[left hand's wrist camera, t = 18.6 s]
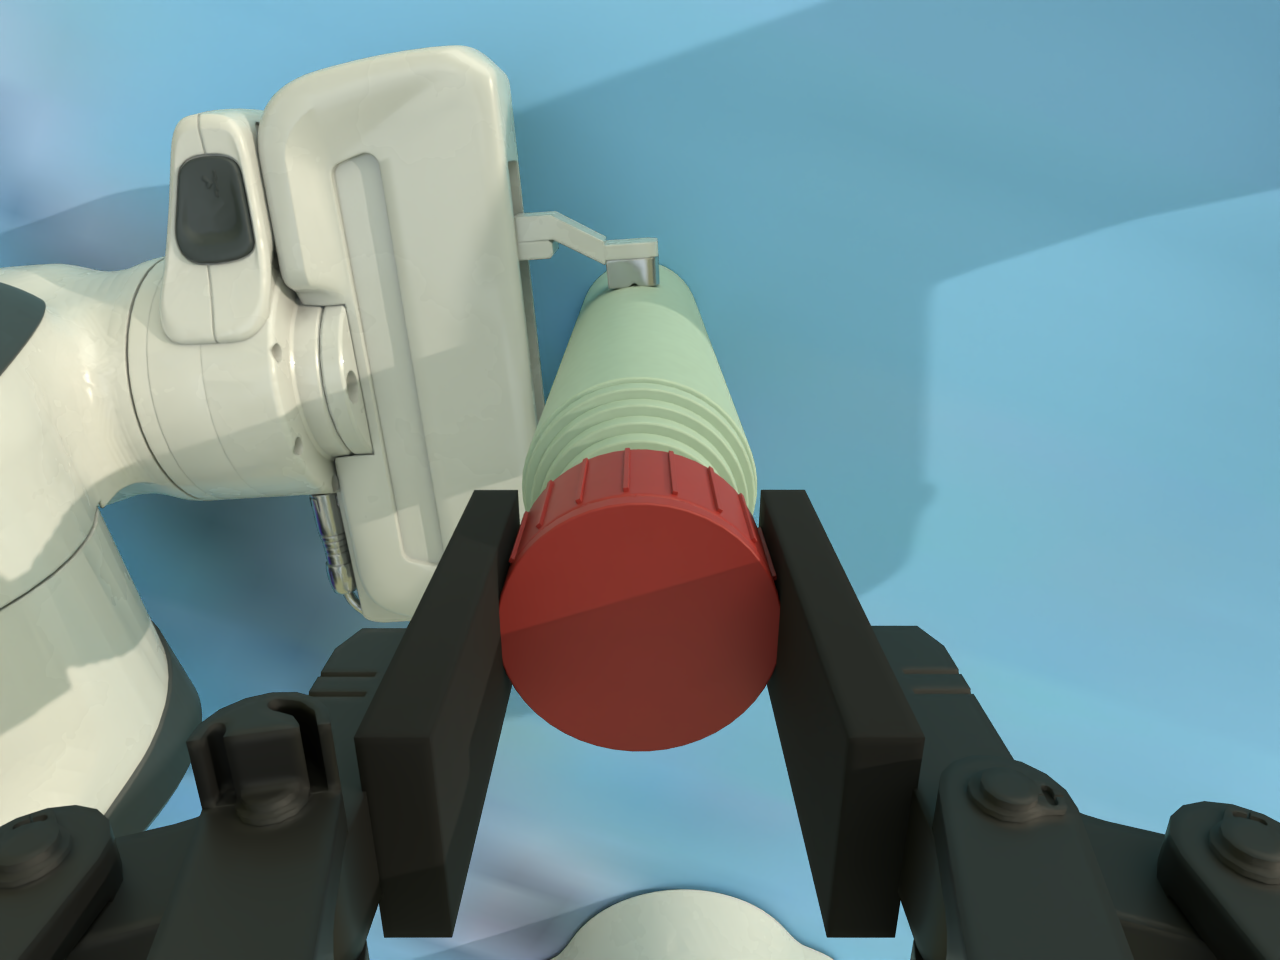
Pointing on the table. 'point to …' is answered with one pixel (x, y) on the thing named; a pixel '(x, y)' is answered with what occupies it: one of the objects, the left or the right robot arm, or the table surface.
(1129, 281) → the table surface
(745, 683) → the cap
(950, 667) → the left robot arm
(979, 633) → the table surface
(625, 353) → the bottle
